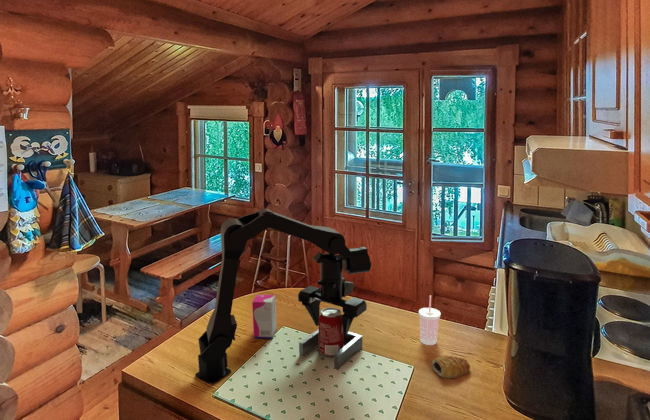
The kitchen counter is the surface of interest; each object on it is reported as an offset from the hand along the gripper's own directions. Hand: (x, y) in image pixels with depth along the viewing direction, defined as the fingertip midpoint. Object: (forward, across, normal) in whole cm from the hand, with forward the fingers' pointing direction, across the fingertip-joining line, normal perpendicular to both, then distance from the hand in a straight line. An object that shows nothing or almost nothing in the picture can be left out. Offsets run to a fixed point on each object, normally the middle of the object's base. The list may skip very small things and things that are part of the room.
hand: (331, 329), depth 120 cm
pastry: (+7, -30, -9) cm, 32 cm away
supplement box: (+7, +22, +2) cm, 23 cm away
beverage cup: (+7, -20, -20) cm, 29 cm away
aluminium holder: (+7, 0, 0) cm, 7 cm away
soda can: (+7, 0, 0) cm, 7 cm away
